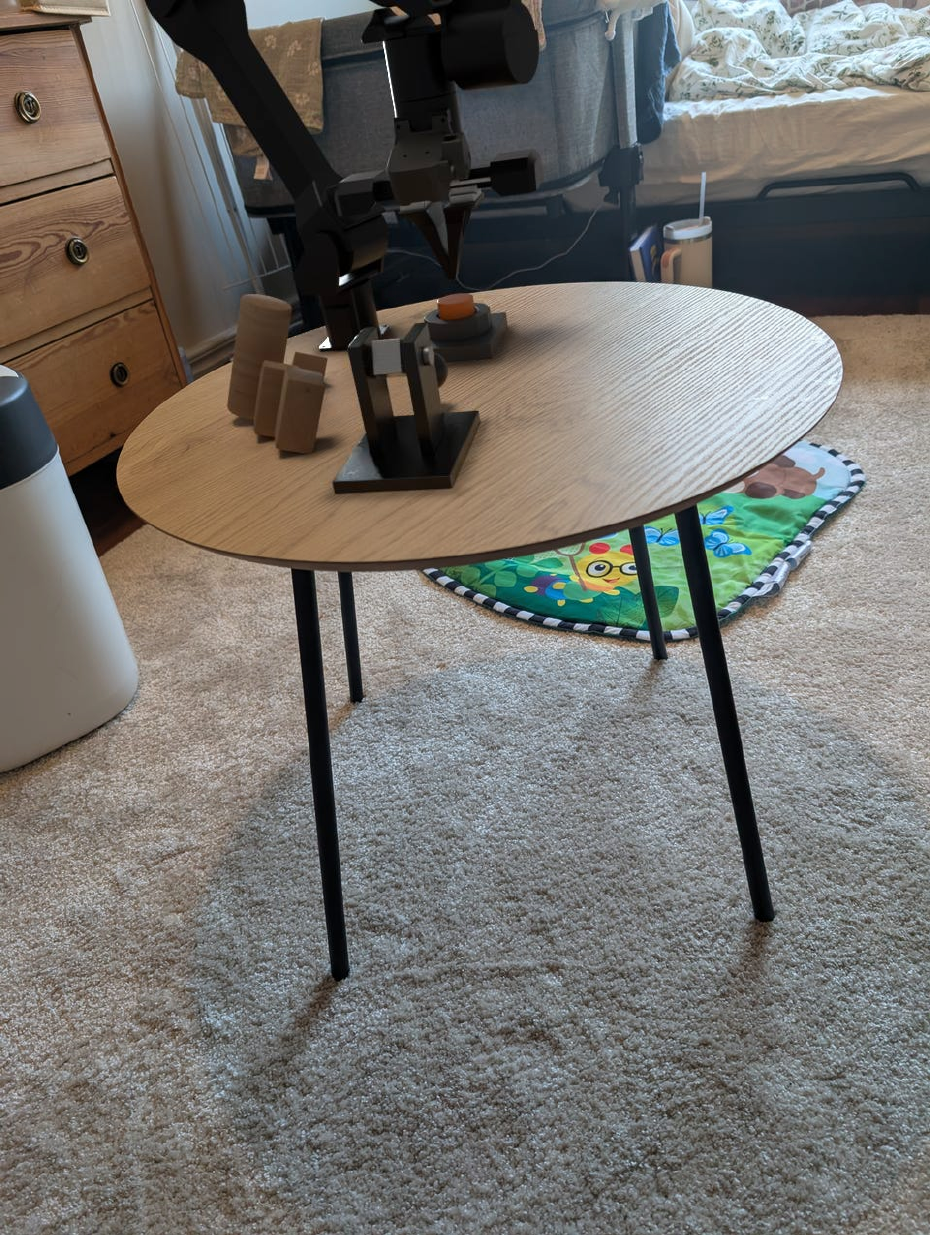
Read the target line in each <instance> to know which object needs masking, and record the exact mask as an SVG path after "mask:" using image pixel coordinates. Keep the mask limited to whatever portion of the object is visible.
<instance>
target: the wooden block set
mask: <svg viewBox="0 0 930 1235" xmlns="http://www.w3.org/2000/svg"><path fill="white" fill-rule="evenodd" d="M292 312H293V307H292V306H291V304H289V303H288V302H286V301H285V300H282V299H280V298H277V297H274V296H270V295H265V294H257V293H247V294H243V295H242V296H241V298H240V304H239V310H238V320H237V327H236V335H235V340H234V341H235V342H234V350H233V357H232V365H231V373H230V381H229V388H228V396H227V403H226V407H227V410H228V412H230V413H231V414H233V415H234V416H237V417H239V418H243V419H245V420H251V421H253V433H254V434H255V435H260V436H265V437H270V438H271V437H272V438H274V443H275V448H276V449H277V450H279V451H286V452H294V453H299V454H305V455H306V454H307V455H308V454H311V453H314V450H315V443H316V439H317V432H318V429H319V422H320V417H321V413H322V406H323V401H324V396H325V390H326V384H325V376H326V370H327V364H328V357H325V356H320V355H315V354H309V353H304V352H299V351H295V352H294V355H293V357H292V358H293V359H292V362H291V364H288V363H284V362H285V356H286V351H287V344H288V339H289V331H290V326H291V325H290V324H291V320H292Z"/></svg>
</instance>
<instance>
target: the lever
mask: <svg viewBox="0 0 930 1235" xmlns="http://www.w3.org/2000/svg"><path fill="white" fill-rule="evenodd" d="M402 341H403V339H401V338H389V339H382V340H376V341H371V345H372V360H373V374H374V375H376V376H380V377H384V378H386V379H392V378H404V377H405V378H407V375H406V370H405V364H404V359H403V354H402V349H401V342H402ZM434 365H435V371H436V377H437V383H438V389H440V388H441V387H442V386H444V384H445V383H446V381H447V379H448V376H449V367H448V363H446V362H445V360H444V359H443V358H442V357H441V356H440V355H439V354H437V353H434Z"/></svg>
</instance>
